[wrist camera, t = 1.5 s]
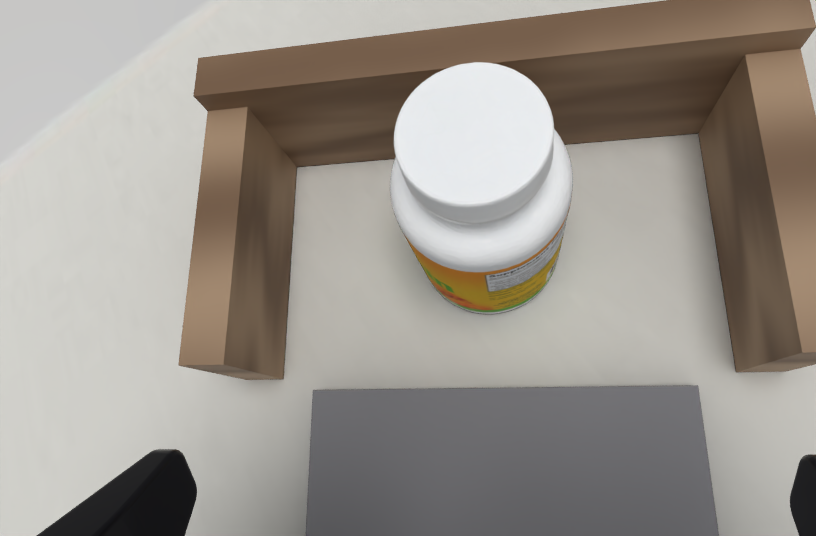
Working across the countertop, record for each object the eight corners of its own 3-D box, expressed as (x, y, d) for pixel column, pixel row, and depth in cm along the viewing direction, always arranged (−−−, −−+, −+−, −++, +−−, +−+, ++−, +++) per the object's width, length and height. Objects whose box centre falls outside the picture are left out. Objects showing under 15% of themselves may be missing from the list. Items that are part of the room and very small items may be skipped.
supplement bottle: (401, 230, 24) (330, 104, 15) (513, 167, 24) (510, 1, 15) (463, 341, 22) (425, 274, 13) (584, 274, 22) (631, 159, 13)
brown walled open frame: (786, 371, 20) (891, 345, 14) (246, 379, 24) (160, 361, 18) (735, 94, 23) (806, -17, 17) (266, 138, 27) (198, 57, 21)
